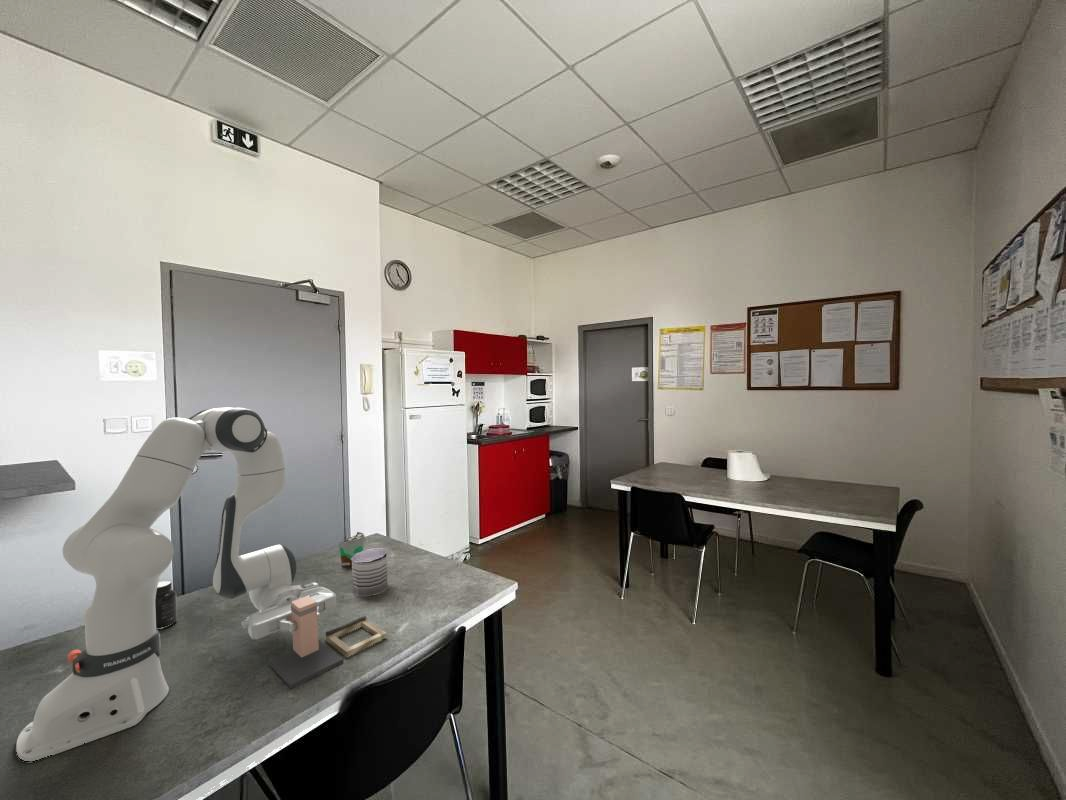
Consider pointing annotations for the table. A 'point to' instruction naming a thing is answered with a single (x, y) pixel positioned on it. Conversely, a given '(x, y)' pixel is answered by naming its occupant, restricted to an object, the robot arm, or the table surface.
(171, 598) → the supplement bottle
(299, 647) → the block
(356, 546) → the food container
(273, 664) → the mat
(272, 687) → the table surface
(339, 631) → the frame
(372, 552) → the can
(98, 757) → the table surface
